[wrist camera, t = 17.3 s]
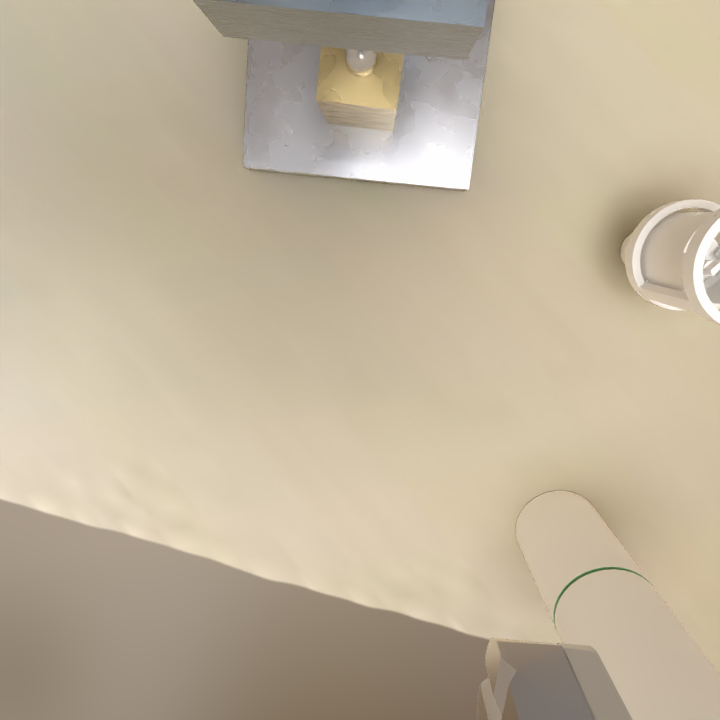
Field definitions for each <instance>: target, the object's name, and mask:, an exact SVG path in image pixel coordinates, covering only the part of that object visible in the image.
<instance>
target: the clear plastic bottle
mask: <svg viewBox="0 0 720 720" xmlns="http://www.w3.org/2000/svg"><path fill="white" fill-rule="evenodd" d="M685 208H694V209H698V210H701V211H703V212H679V213H674V214H671V213H673V212H675V211H678V210H681V209H685ZM669 214H671V215H669ZM667 215H668V216H667ZM620 255H621V259H622V261H623V263H624V264H625V268H626V273H627V277H628V279H629V282H630V284H631V285H632V287H633V289H634V290H635V291H636V292H637V293H638V294H639V295H640V296H641V297H642V298H643V299H645V300H646V301H648V302H650V303H652V304H654V305H657V306H660V307H664V308H667V309H672V310H686V311H689V312H693V313H696V314H699V315H702V316H703V317H705V318H706V319H708V320H709V321H712V322H714V323H716V324H719V325H720V311H719V310H718V309H717V308H720V205H718V204H716V203H714V202H710V201H706V200H697V199H695V200H679V201H674V202H670V203H667V204H665V205H662V206H660V207H658V208H657V209H655V210H653V211H652V212H651V213H649V214H648V215H647V216H646V217H645V218H644V219H643V220H642V221H641V222H640V223H639V224H638V226H637V227H636V228H635V230H634V231H633V233H631V234H630V235H628V236H627V237H626V239H625V240H624V242H623V243H622V246H621V250H620Z"/></svg>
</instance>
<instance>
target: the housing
mask: <svg viewBox="0 0 720 720" xmlns="http://www.w3.org/2000/svg"><path fill="white" fill-rule="evenodd" d="M403 58H404V54H395V53H384V52H374V51H364V50H354V49H344V48H334V47H324V46H321V51H320V62H319V72H318V83H317V93H316V101H317V103H318V105H319V107H320V109H321V111H322V113H323V115H324V117H325V119H326V121H327V123H328V124H336V125H344V126H351V127H359V128H367V129H375V130H383V131H390V132H393V127H394V122H395V116H396V111H397V104H398V97H399V89H400V81H401V74H402V66H403Z"/></svg>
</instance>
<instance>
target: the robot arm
mask: <svg viewBox="0 0 720 720" xmlns="http://www.w3.org/2000/svg"><path fill="white" fill-rule="evenodd" d="M485 663H486V667H487V671H488V676H489V677H488V678H487V679H486V680H484V682H482V683H481V684H480V689H479V695H478V702H477V720H633V719H632V717H631V715H630V714H629V712H628V710H627V708H626V706H625V704H624V702H623V700H622V698H621V696H620V695H619V693H618V691H617V689H616V687H615V685H614V683H613V681H612V679H611V677H610V675H609V674H608V672H607V670H606V668H605V666H604V664H603V662H602V660H601V658H600V656H599V654H598V653H597V651H596V650H595V649H594V648H593V647H592V646H589V645H576V644H563V643H557V644H552V643H541V642H531V641H520V640H509V639H498V638H491V639H490V641H489V644H488V646H487V651H486V656H485Z"/></svg>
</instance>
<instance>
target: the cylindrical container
mask: <svg viewBox="0 0 720 720" xmlns="http://www.w3.org/2000/svg"><path fill="white" fill-rule="evenodd" d="M516 538H517V541H518V543H519V546H520V548H521V550H522V553H523V555H524V557H525V559H526V562H527V564H528V566H529V569H530V571H531V573H532V575H533V578H534V580H535V582H536V585H537V587H538V589H539V591H540V594H541V596H542V598H543V601H544V603H545V605H546V607H547V610H548V612H549V614H550V617H551V619H552V621H553V623H554V626H555V628H556V630H557V633H558V635H559V637H560V639H561V642H562V643H563V644H576V645H589V646H592V647H593V648H594V649H595V650H596V651H597V653H598V654H599V656H600V658H601V660H602V662H603V664H604V666H605V668H606V670H607V672H608V674H609V675H610V677H611V679H612V681H613V683H614V685H615V687H616V689H617V691H618V693H619V695H620V696H621V698H622V700H623V702H624V704H625V706H626V708H627V710H628V712H629V714H630V715H631V717H632V719H633V720H720V675H719V673H718V672H717V671H716V669H715V668H714V667H713V665H712V664H711V663H710V661H709V660H708V659H707V657H706V656H705V655H704V653H703V652H702V651H701V649H700V648H699V647H698V645H697V644H696V643H695V641H694V640H693V639H692V637H691V636H690V635H689V633H688V632H687V631H686V629H685V628H684V627H683V625H682V624H681V623H680V621H679V620H678V619H677V618H676V616H675V615H674V614H673V612H672V611H671V610H670V608H669V607H668V606H667V604H666V603H665V602H664V600H663V599H662V598H661V596H660V595H659V594H658V592H657V591H656V590H655V588H654V587H653V586H652V584H651V583H650V582H649V580H648V579H647V578H646V576H645V575H644V574H643V572H642V571H641V570H640V568H639V567H638V566H637V564H636V563H635V562H634V560H633V559H632V558H631V556H630V555H629V554H628V552H627V551H626V550H625V548H624V547H623V546H622V544H621V543H620V542H619V540H618V539H617V538H616V536H615V535H614V534H613V533H612V531H611V530H610V529H609V527H608V526H607V525H606V523H605V522H604V521H603V519H602V518H601V517H600V515H599V514H598V513H597V511H596V510H595V509H594V507H593V506H592V505H591V504H590V503H589V502H588V501H587V500H586V499H585V498H583V497H582V496H580V495H578V494H575V493H573V492H568V491H552V492H547V493H544V494H542V495H539V496H537V497H536V498H534V499H532V500H531V501H530V502H529V503H528V504H526V506H525V507H524V508H523V509H522V511H521V513H520V514H519V516H518V519H517V523H516Z"/></svg>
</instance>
